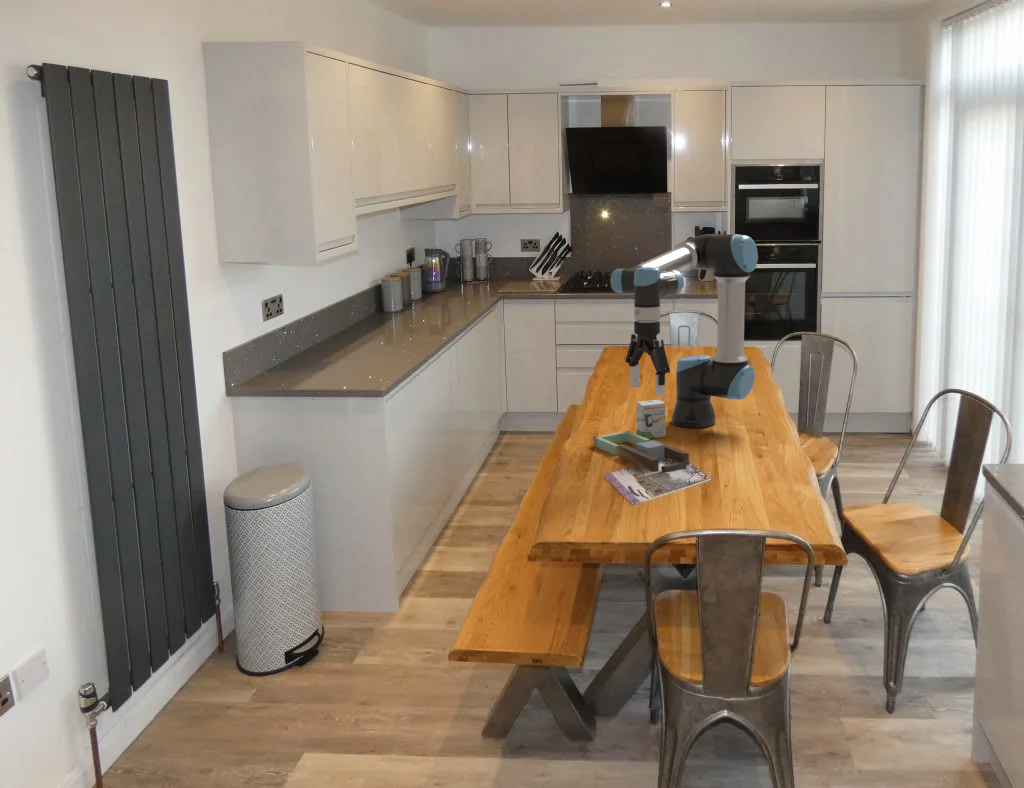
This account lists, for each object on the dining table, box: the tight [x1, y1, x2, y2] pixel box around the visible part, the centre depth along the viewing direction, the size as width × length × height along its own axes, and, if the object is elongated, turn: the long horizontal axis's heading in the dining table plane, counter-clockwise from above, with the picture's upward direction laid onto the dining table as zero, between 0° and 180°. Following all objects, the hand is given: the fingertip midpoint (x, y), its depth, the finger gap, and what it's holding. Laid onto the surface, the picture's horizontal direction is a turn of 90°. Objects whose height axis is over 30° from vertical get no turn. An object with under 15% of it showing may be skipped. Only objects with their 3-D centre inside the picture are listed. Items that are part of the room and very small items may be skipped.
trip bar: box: [661, 462, 688, 473], centre depth 298 cm, size 8×2×2 cm, turn 117°
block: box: [636, 439, 665, 462], centre depth 308 cm, size 6×6×5 cm
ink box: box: [636, 399, 667, 440], centre depth 333 cm, size 9×5×12 cm, turn 105°
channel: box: [618, 439, 690, 473], centre depth 307 cm, size 13×18×4 cm
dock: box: [593, 430, 651, 456], centre depth 322 cm, size 13×12×3 cm
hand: (647, 391), depth 300 cm, fingers open, 13 cm apart
